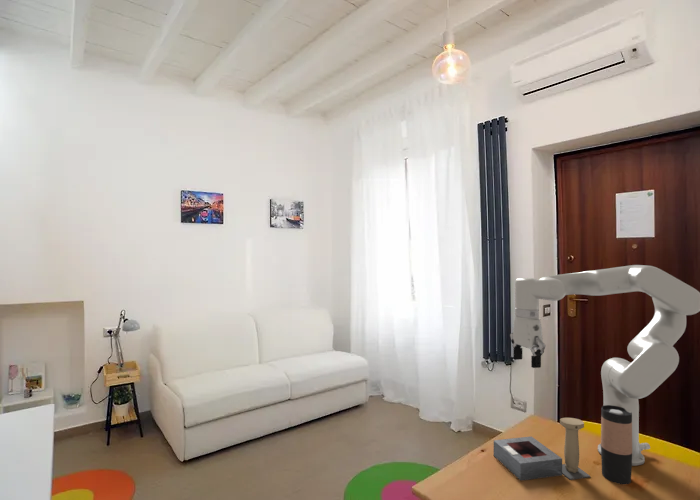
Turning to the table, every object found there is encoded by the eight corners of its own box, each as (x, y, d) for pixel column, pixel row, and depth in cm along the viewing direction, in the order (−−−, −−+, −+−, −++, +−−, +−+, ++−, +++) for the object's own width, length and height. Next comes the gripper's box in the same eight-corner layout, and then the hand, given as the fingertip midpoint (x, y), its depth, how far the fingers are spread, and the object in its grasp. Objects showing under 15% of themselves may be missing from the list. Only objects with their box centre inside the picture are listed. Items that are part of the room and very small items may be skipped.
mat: (572, 464, 121) (572, 463, 121) (590, 477, 114) (590, 475, 114) (552, 466, 120) (552, 465, 120) (569, 479, 113) (569, 478, 113)
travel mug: (598, 477, 114) (598, 410, 114) (603, 467, 120) (603, 402, 120) (630, 488, 109) (630, 418, 109) (633, 477, 115) (634, 409, 115)
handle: (587, 475, 115) (587, 424, 115) (565, 475, 115) (565, 424, 115) (577, 466, 120) (577, 417, 120) (556, 465, 120) (557, 417, 120)
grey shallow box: (531, 451, 129) (531, 435, 129) (562, 475, 115) (562, 457, 115) (493, 455, 126) (493, 439, 126) (520, 480, 113) (520, 462, 113)
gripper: (554, 317, 126) (554, 370, 126) (520, 309, 142) (520, 355, 143) (533, 318, 124) (533, 371, 124) (502, 310, 141) (502, 357, 141)
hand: (526, 363), depth 133 cm, fingers open, 9 cm apart
